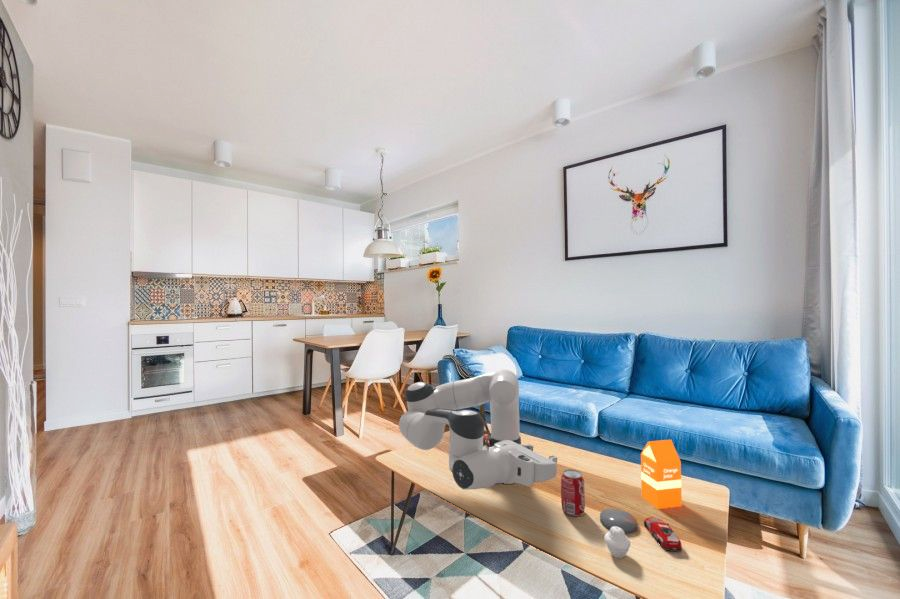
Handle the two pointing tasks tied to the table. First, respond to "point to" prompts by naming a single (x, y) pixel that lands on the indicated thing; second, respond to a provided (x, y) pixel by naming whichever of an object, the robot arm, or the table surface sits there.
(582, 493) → the soda can
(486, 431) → the eiffel tower
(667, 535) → the race car
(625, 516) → the grey rounded flat dome
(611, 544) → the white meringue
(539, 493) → the table surface
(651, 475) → the orange juice
